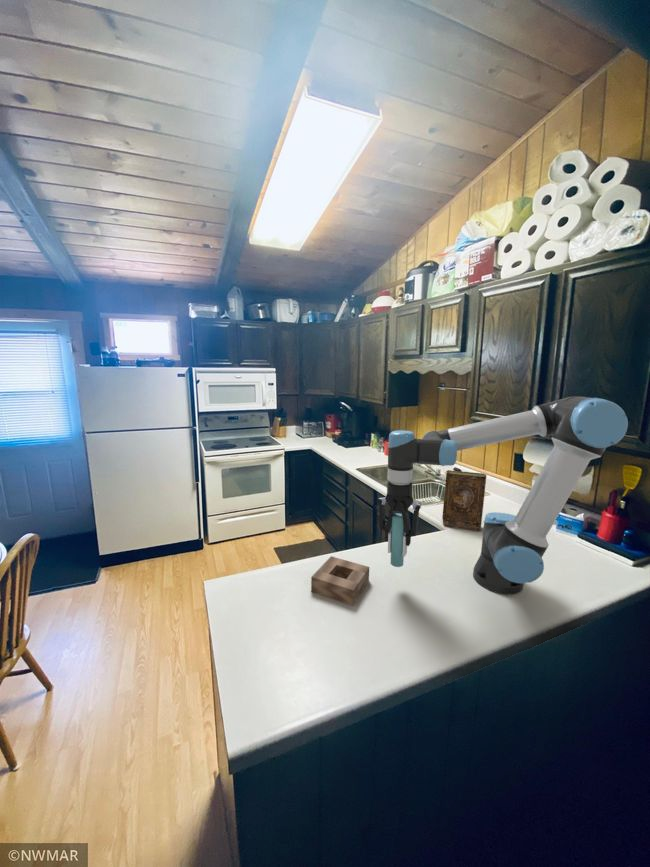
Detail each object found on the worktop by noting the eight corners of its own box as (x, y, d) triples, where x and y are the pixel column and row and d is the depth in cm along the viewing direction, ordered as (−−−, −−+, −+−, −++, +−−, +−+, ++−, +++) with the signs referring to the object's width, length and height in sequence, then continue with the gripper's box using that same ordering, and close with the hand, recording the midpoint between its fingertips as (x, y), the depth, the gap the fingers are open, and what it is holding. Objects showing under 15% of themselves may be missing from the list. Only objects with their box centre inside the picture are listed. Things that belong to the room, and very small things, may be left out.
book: (479, 526, 157) (485, 473, 153) (481, 531, 152) (487, 477, 148) (442, 521, 162) (446, 469, 158) (442, 526, 157) (446, 473, 152)
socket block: (368, 580, 114) (369, 567, 113) (352, 605, 101) (353, 590, 100) (330, 569, 120) (331, 556, 119) (311, 591, 107) (311, 576, 107)
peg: (404, 562, 110) (406, 514, 108) (401, 568, 107) (403, 519, 104) (392, 559, 112) (394, 512, 109) (388, 565, 109) (390, 517, 106)
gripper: (430, 481, 105) (427, 553, 108) (376, 474, 112) (375, 541, 116) (426, 488, 98) (422, 564, 102) (369, 481, 105) (367, 552, 109)
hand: (397, 552), depth 109 cm, fingers closed on peg, 4 cm apart
